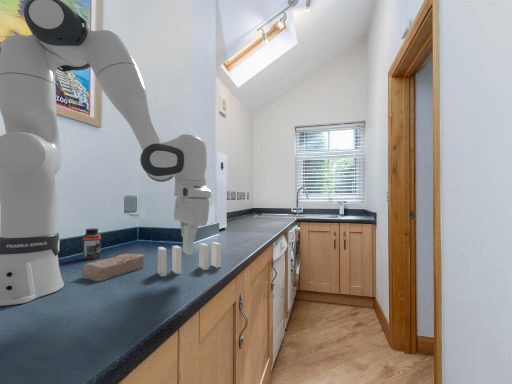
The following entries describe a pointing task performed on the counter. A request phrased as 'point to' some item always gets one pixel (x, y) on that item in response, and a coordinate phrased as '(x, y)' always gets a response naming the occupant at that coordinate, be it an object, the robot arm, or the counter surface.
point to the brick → (113, 266)
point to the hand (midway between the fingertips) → (188, 238)
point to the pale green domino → (187, 241)
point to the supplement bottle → (91, 244)
